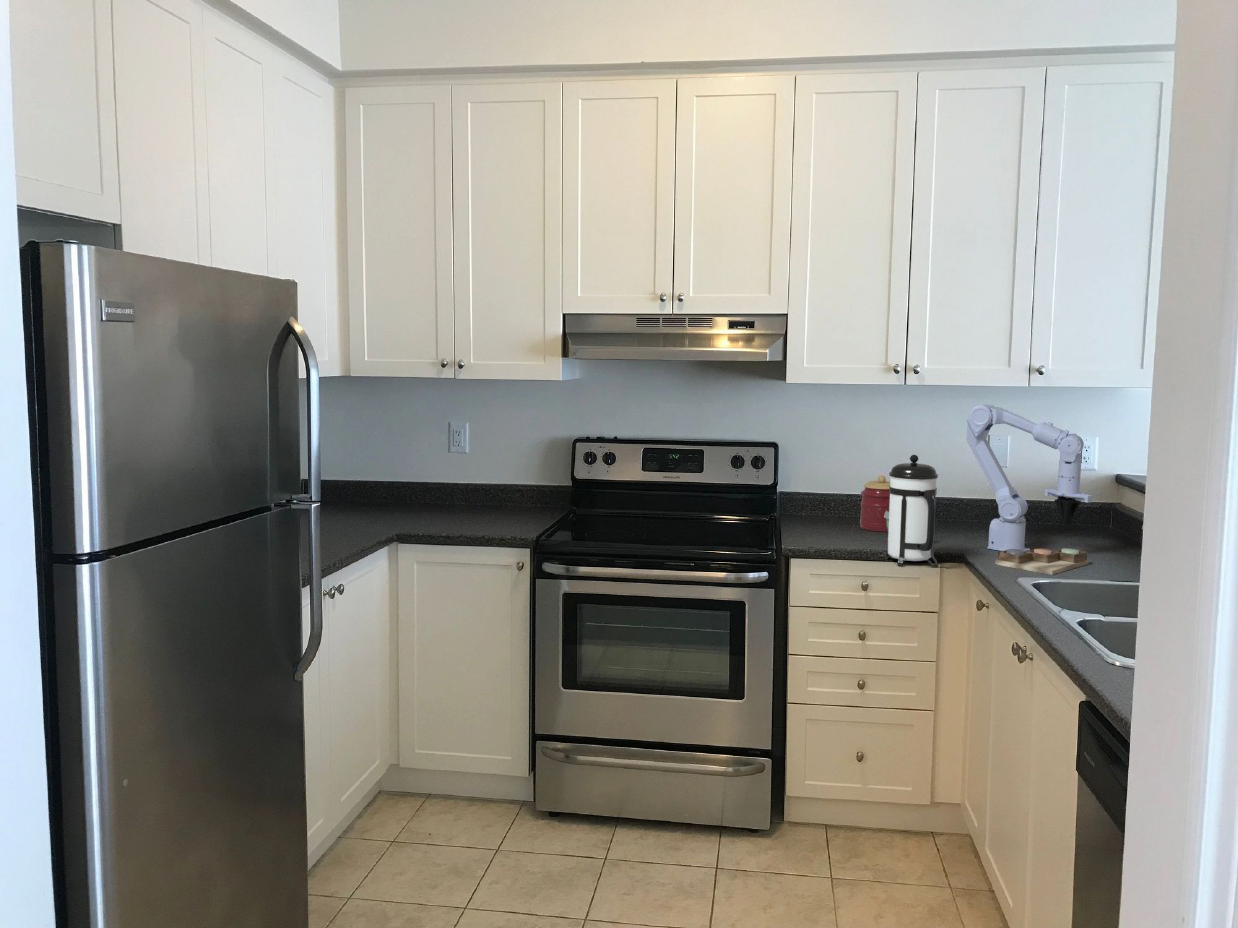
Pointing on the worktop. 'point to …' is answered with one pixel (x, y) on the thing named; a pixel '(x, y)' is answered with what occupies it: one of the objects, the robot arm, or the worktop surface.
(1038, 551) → the terracotta button
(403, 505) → the worktop surface
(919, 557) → the coffee press
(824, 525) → the worktop surface
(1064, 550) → the sage button
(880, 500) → the canister
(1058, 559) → the button panel
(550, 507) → the worktop surface
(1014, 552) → the charcoal button
